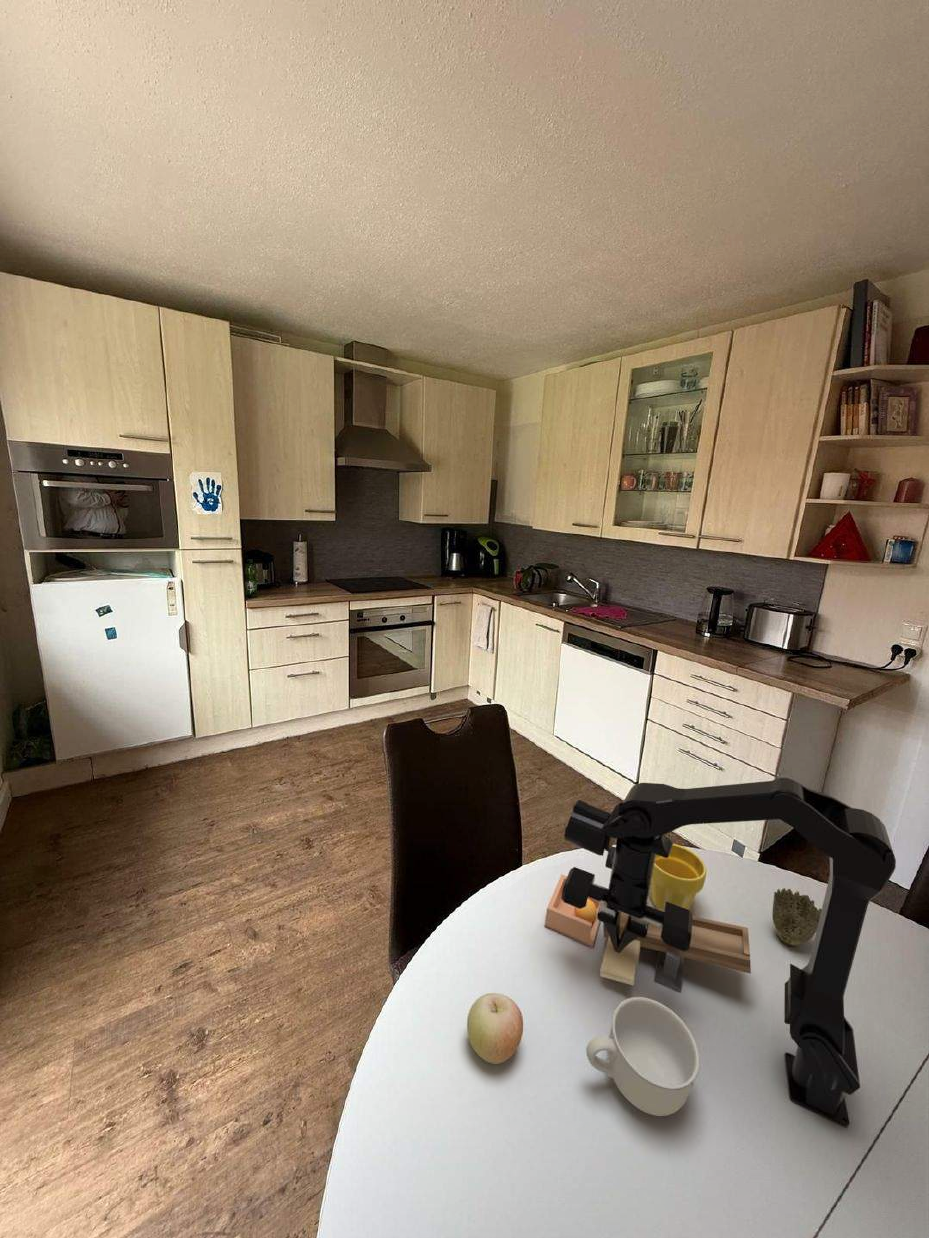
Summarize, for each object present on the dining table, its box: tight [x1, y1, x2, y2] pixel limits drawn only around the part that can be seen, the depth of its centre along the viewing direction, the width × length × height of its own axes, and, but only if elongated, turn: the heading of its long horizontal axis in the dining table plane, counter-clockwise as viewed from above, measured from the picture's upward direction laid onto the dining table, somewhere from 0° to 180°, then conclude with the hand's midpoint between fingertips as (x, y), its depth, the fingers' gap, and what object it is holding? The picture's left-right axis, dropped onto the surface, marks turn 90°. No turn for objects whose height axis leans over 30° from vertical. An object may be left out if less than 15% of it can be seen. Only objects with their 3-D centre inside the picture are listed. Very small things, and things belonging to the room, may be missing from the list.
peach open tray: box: [544, 874, 601, 949], centre depth 92 cm, size 10×9×4 cm
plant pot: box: [650, 843, 707, 910], centre depth 97 cm, size 10×10×10 cm
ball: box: [574, 899, 597, 923], centre depth 92 cm, size 4×4×4 cm
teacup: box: [585, 996, 700, 1117], centre depth 66 cm, size 14×11×8 cm
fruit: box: [466, 992, 524, 1065], centre depth 69 cm, size 8×7×8 cm
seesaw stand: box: [653, 949, 685, 993], centre depth 86 cm, size 12×4×5 cm, turn 154°
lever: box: [599, 907, 752, 986], centre depth 81 cm, size 15×22×3 cm
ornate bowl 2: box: [771, 887, 822, 948], centre depth 91 cm, size 8×7×8 cm
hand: (617, 949), depth 80 cm, fingers closed
